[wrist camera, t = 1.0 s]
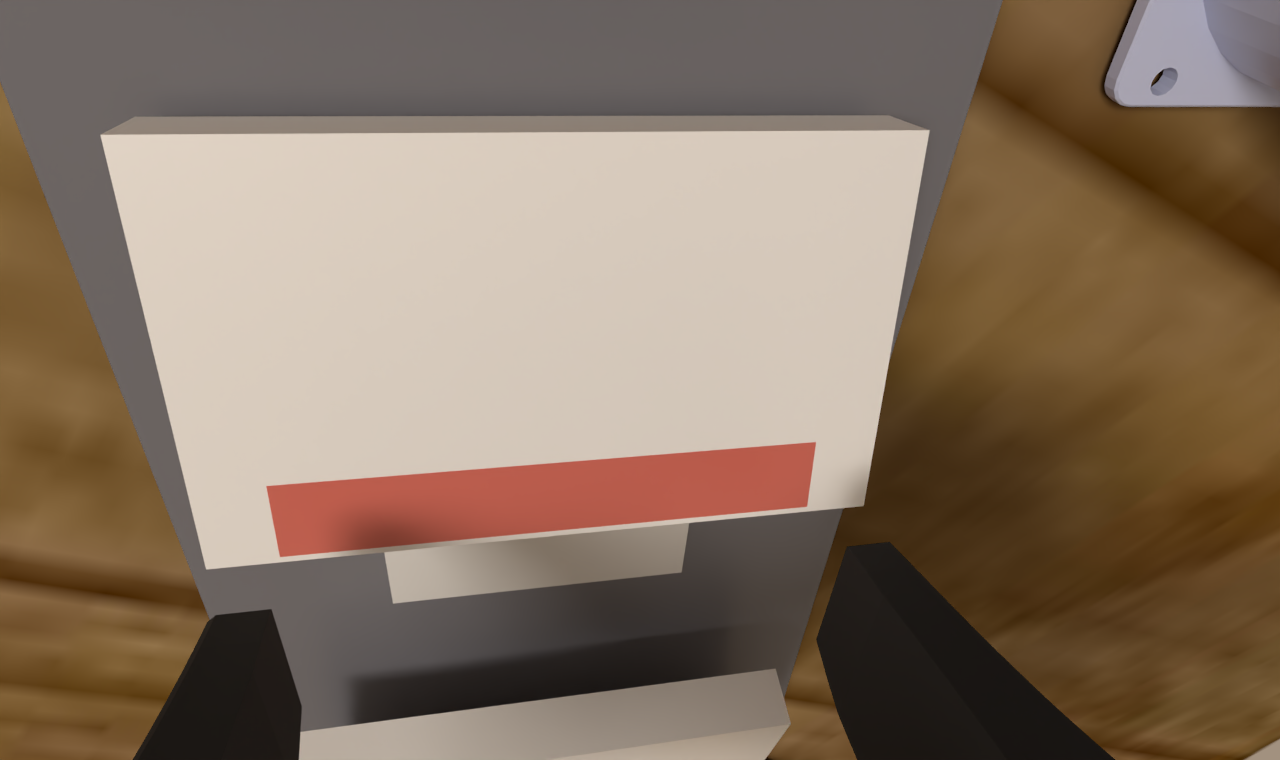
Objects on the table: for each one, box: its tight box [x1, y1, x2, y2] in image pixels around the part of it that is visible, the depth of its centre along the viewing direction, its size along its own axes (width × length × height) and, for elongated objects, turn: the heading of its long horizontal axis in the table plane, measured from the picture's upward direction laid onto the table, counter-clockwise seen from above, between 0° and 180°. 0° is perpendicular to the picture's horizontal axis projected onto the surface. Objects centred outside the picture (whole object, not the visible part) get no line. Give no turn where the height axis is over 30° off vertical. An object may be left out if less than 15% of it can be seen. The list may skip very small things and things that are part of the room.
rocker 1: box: [100, 115, 930, 570], centre depth 12 cm, size 10×6×1 cm, turn 86°
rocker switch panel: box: [0, 0, 1003, 732], centre depth 18 cm, size 13×22×3 cm, turn 176°
